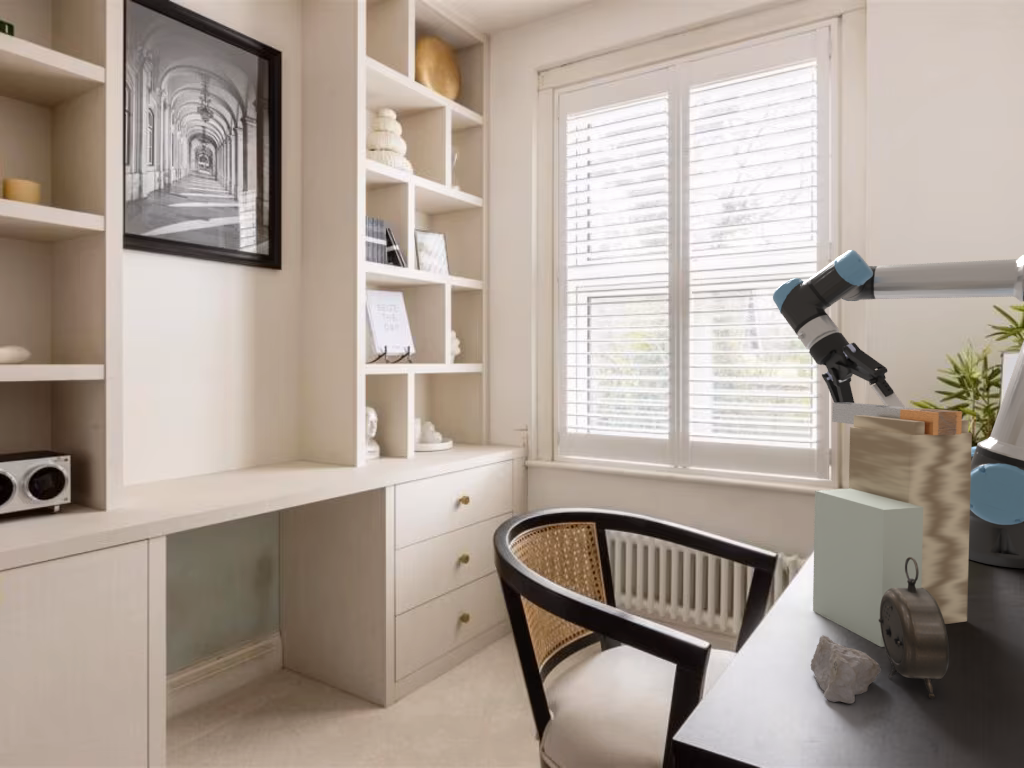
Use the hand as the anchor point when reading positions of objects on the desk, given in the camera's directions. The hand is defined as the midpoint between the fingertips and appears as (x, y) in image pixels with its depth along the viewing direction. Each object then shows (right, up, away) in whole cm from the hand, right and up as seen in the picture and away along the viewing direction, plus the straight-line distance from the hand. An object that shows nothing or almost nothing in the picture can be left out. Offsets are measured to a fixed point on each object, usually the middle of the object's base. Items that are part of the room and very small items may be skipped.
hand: (884, 424), depth 132 cm
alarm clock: (-24, -30, -48) cm, 62 cm away
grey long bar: (-12, +1, -22) cm, 25 cm away
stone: (-34, -31, -49) cm, 67 cm away
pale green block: (-21, -29, -30) cm, 47 cm away
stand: (-11, -29, -25) cm, 40 cm away
